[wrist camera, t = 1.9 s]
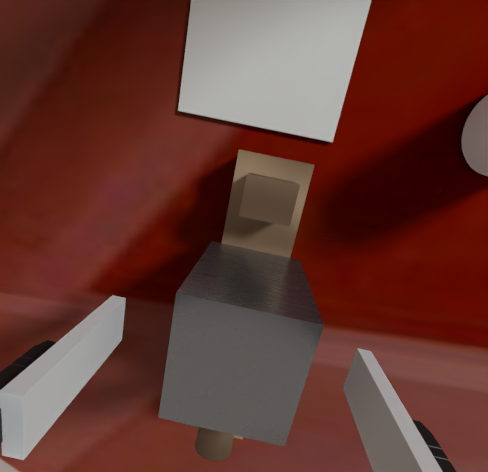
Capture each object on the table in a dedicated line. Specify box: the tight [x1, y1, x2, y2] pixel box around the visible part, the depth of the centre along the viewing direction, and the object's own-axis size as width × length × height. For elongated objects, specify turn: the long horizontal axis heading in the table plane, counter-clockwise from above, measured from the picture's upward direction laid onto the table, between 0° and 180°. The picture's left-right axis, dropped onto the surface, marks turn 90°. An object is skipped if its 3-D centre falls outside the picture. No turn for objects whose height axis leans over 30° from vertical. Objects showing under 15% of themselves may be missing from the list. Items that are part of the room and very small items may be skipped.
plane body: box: [188, 150, 314, 461], centre depth 21 cm, size 24×5×7 cm, turn 169°
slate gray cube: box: [158, 241, 324, 446], centre depth 16 cm, size 7×6×8 cm
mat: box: [178, 0, 371, 142], centre depth 19 cm, size 12×12×1 cm
